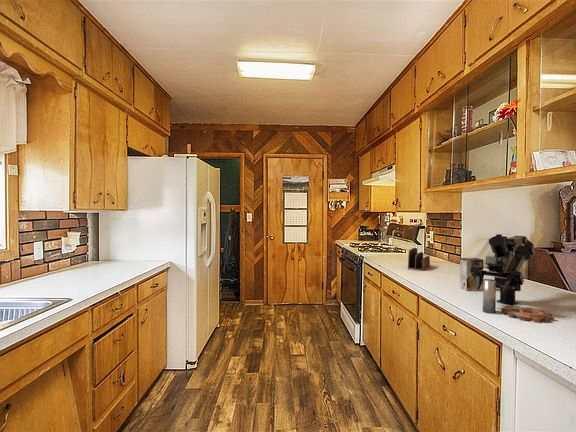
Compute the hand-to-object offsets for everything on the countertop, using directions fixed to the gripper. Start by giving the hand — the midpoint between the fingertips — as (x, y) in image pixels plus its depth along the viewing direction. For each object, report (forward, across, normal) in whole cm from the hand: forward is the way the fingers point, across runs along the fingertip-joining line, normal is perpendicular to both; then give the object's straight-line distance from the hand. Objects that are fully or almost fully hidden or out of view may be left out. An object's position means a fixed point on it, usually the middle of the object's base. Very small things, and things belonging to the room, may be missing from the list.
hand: (489, 291), depth 135 cm
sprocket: (+2, +11, +10) cm, 15 cm away
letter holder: (-44, -70, +56) cm, 100 cm away
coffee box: (-18, -20, +30) cm, 40 cm away
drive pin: (+6, 0, +6) cm, 8 cm away
